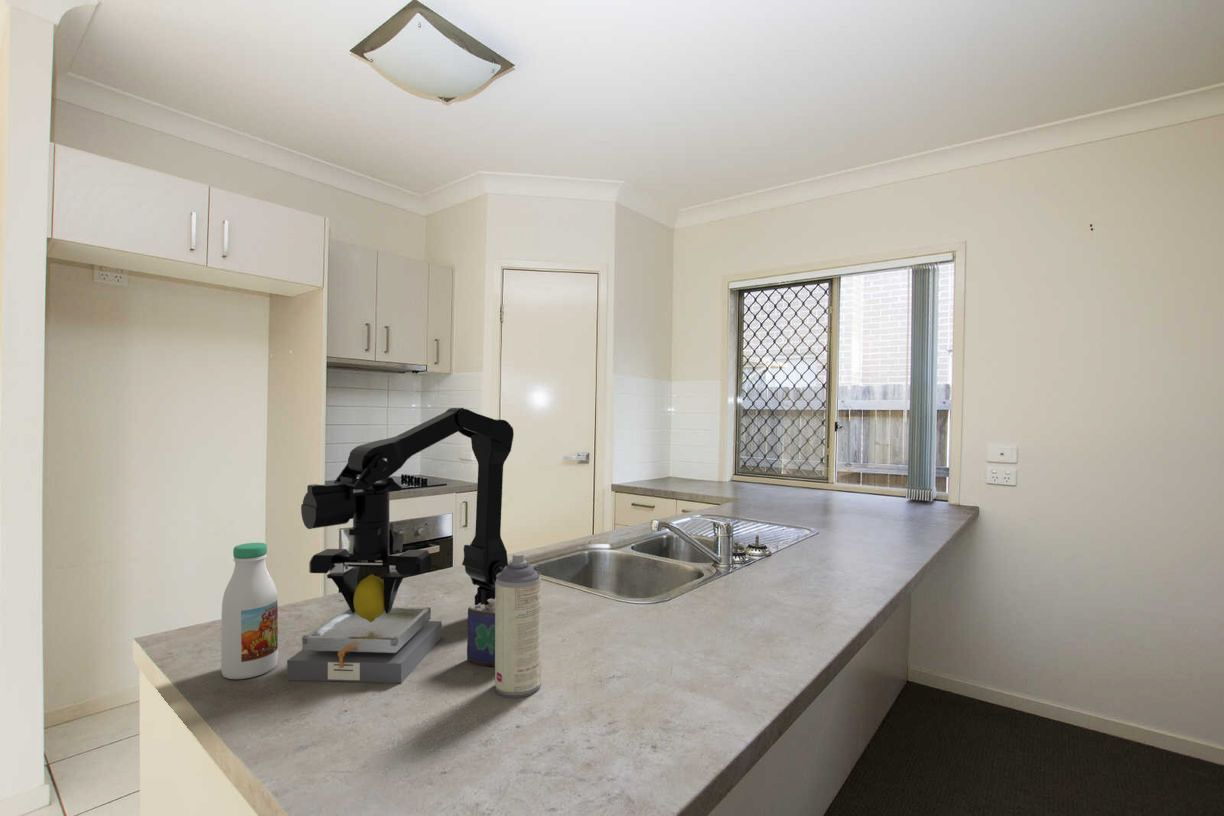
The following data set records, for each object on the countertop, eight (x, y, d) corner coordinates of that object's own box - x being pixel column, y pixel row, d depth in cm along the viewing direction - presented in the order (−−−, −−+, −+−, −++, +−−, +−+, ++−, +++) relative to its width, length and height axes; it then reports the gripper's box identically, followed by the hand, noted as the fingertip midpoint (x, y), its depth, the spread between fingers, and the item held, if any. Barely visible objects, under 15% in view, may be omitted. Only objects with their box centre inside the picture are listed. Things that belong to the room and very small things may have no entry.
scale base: (441, 637, 109) (441, 621, 109) (400, 683, 91) (400, 664, 91) (345, 635, 110) (345, 619, 110) (286, 680, 92) (286, 660, 92)
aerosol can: (523, 672, 95) (524, 546, 95) (549, 687, 90) (550, 554, 90) (486, 686, 90) (486, 554, 90) (511, 702, 85) (512, 562, 85)
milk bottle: (218, 685, 90) (218, 552, 90) (224, 665, 97) (224, 542, 97) (276, 674, 94) (277, 547, 94) (278, 656, 100) (278, 537, 100)
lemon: (394, 616, 103) (394, 570, 103) (378, 628, 97) (379, 580, 97) (364, 615, 103) (364, 569, 103) (346, 627, 98) (346, 578, 98)
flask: (521, 663, 98) (521, 598, 98) (514, 670, 95) (514, 604, 95) (471, 656, 101) (471, 593, 101) (462, 663, 98) (462, 598, 98)
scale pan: (430, 626, 107) (430, 607, 107) (389, 669, 90) (389, 646, 90) (349, 624, 108) (349, 605, 108) (293, 666, 91) (293, 643, 91)
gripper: (442, 511, 108) (442, 597, 108) (341, 510, 109) (341, 596, 109) (418, 524, 97) (418, 620, 97) (307, 522, 98) (307, 617, 98)
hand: (371, 612), depth 100 cm, fingers closed on lemon, 5 cm apart
